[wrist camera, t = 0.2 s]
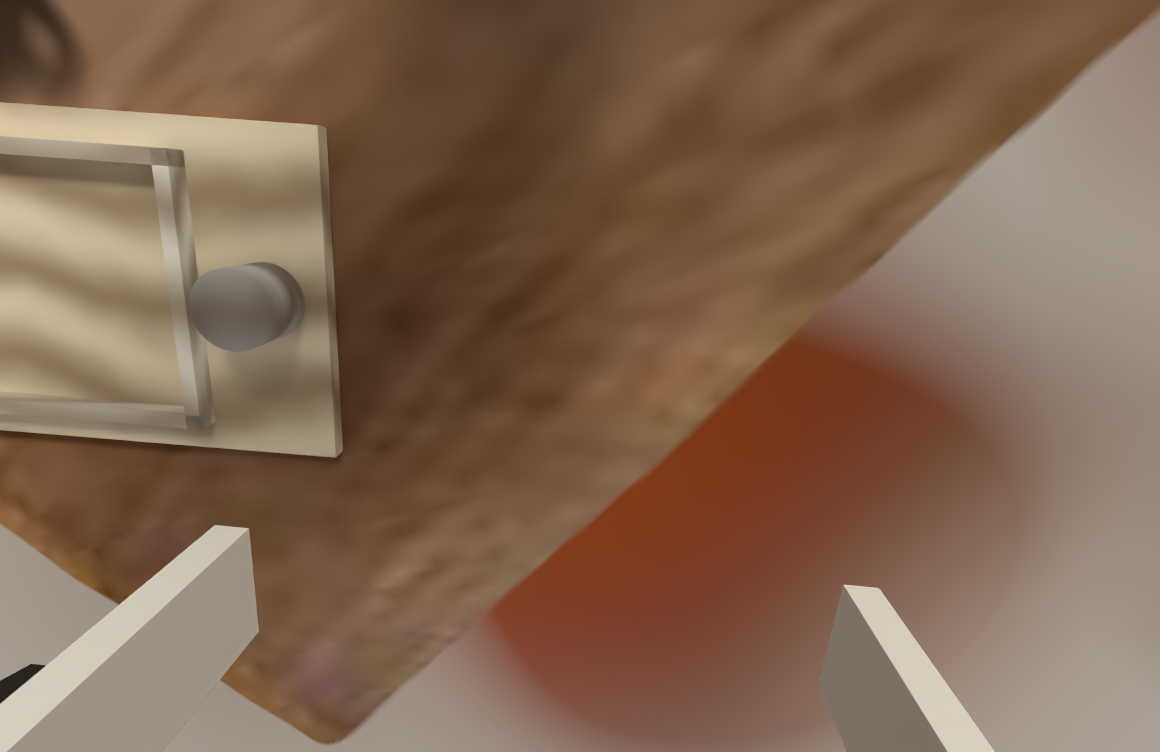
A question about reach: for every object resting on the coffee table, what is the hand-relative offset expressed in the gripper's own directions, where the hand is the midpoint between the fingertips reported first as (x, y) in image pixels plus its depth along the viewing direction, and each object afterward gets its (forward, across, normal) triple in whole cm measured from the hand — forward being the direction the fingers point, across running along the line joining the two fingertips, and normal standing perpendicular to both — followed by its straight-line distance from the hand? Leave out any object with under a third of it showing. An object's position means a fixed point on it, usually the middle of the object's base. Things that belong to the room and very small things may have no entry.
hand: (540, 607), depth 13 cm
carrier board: (+28, -31, 0) cm, 42 cm away
